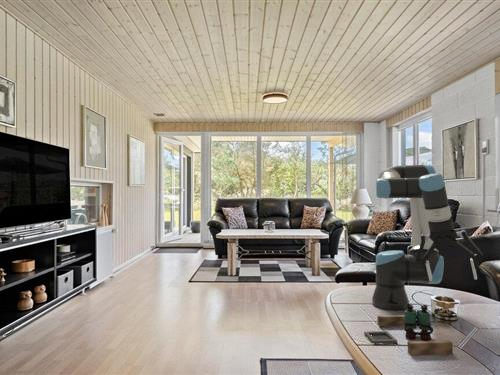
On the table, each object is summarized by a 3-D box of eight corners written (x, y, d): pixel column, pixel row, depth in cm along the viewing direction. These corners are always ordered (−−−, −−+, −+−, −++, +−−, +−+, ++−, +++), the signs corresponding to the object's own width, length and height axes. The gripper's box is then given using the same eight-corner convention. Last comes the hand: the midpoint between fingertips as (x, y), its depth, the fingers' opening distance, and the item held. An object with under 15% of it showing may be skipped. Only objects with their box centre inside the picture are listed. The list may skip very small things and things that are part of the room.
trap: (373, 344, 116) (372, 341, 116) (364, 334, 124) (364, 331, 124) (397, 343, 116) (397, 340, 116) (387, 333, 124) (387, 331, 124)
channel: (410, 355, 107) (409, 343, 107) (377, 325, 132) (377, 315, 132) (452, 354, 108) (452, 342, 108) (412, 324, 133) (412, 314, 133)
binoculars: (404, 312, 117) (402, 301, 126) (405, 344, 118) (402, 330, 127) (435, 315, 114) (430, 303, 123) (435, 347, 115) (430, 332, 124)
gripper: (399, 226, 125) (412, 284, 126) (482, 216, 112) (496, 281, 113) (402, 221, 132) (415, 276, 133) (482, 211, 118) (495, 273, 119)
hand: (452, 278), depth 123 cm, fingers open, 13 cm apart
